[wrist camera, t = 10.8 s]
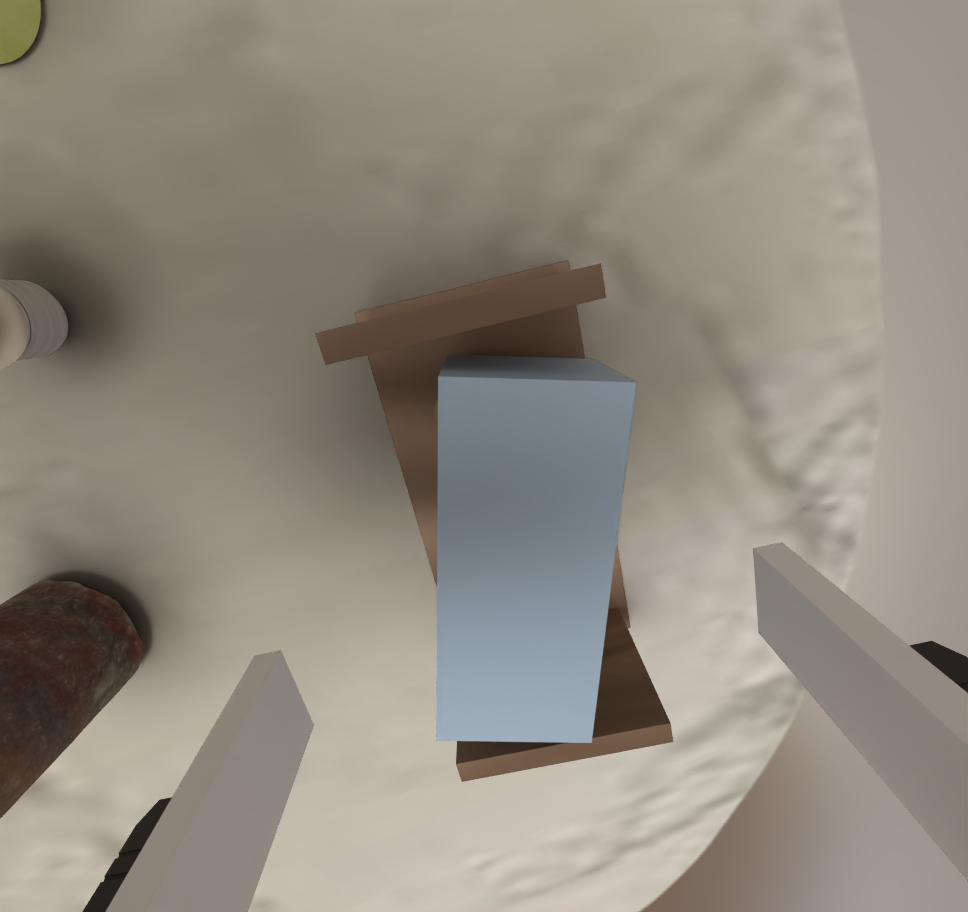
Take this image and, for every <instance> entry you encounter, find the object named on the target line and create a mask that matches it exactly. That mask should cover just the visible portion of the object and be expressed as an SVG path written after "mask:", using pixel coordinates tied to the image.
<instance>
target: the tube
mask: <svg viewBox="0 0 968 912" xmlns="http://www.w3.org/2000/svg"><path fill="white" fill-rule="evenodd" d="M40 19H41V3H40V0H0V64H4V63H9V62H12V61H14V60H16V59H17V58H19V57H21V56H22V55H23V54H24V53H25V52H26V51H27V50H28V49H29V47H30V46H31V45H32V44H33V42H34V40H35V38H36V35H37V33H38V29H39V24H40Z"/></svg>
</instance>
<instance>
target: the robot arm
mask: <svg viewBox="0 0 968 912" xmlns="http://www.w3.org/2000/svg"><path fill="white" fill-rule="evenodd" d="M753 554H754V569H755V584H756V599H757V614H758V629H759V634H760V635H761V636H762V637H763V638H764V639H765V641H766V642H767V643H768V644H769V645H770V647H771V648H772V649H773V650H774V651H775V653H776V654H777V655H778V656H779V657H780V659H781V660H782V661H783V662H784V663H785V664H786V666H787V667H788V668H789V669H790V670H791V672H792V673H793V674H794V675H795V676H796V678H797V679H798V680H799V681H800V682H801V684H802V685H803V686H804V687H805V688H806V689H807V691H808V692H809V693H810V694H811V695H812V697H813V698H814V699H815V700H816V701H817V703H818V704H819V705H820V706H821V707H822V709H823V710H824V711H825V712H826V713H827V714H828V715H829V717H830V718H831V719H832V720H833V722H834V723H835V724H836V725H837V726H838V727H839V729H840V730H841V731H842V732H843V734H844V735H845V736H846V737H847V738H848V739H849V741H850V742H851V743H852V744H853V745H854V747H855V748H856V749H857V750H858V751H859V752H860V754H861V755H862V756H863V757H864V758H865V760H866V761H867V762H868V763H869V764H870V766H871V767H872V768H873V769H874V770H875V772H876V773H877V774H878V775H879V776H880V778H881V779H882V780H883V781H884V782H885V783H886V785H887V786H888V787H889V788H890V789H891V791H892V792H893V793H894V794H895V795H896V797H897V798H898V799H899V800H900V801H901V803H902V804H903V805H904V806H905V807H906V808H907V810H908V811H909V812H910V813H911V814H912V816H913V817H914V818H915V819H916V820H917V822H918V823H919V824H920V825H921V826H922V828H923V829H924V830H925V831H926V832H927V834H928V835H929V836H930V837H931V838H932V839H933V841H934V842H935V843H936V844H937V845H938V847H939V848H940V849H941V850H942V851H943V852H944V854H945V855H946V856H947V857H948V859H949V860H950V861H951V862H952V863H953V864H954V865H955V867H956V868H957V869H958V870H959V872H960V873H961V874H962V875H963V876H964V878H965V879H966V880H967V881H968V658H967V657H966V656H964V655H962V654H959V653H957V652H955V651H953V650H951V649H948V648H946V647H944V646H942V645H940V644H937V643H935V642H933V641H929V642H924V643H920V644H914V645H908V644H907V643H905V642H904V641H903V640H902V639H900V638H899V637H898V636H897V635H895V634H894V633H893V632H891V630H889V629H888V628H887V627H886V626H884V625H883V624H882V623H881V622H880V621H878V620H877V619H876V618H875V617H873V616H872V615H871V614H869V613H868V612H867V611H866V610H865V609H863V608H862V607H861V606H860V605H859V604H857V603H856V602H855V601H854V600H853V599H851V598H850V597H849V596H848V595H846V594H845V593H844V592H843V591H841V590H840V589H839V588H838V587H837V586H835V585H834V584H833V583H832V582H830V581H829V580H828V579H827V578H825V577H824V576H823V575H822V574H821V573H819V572H818V571H817V570H816V569H814V568H813V567H812V566H811V565H809V564H808V563H807V562H806V561H805V560H803V559H802V558H801V557H800V556H798V555H797V554H796V553H795V552H793V551H792V550H791V549H790V548H789V547H787V546H786V545H785V544H784V543H782V542H781V543H776V544H771V545H767V546H762V547H757V548H753ZM313 726H314V724H313V722H312V720H311V717H310V715H309V713H308V711H307V708H306V706H305V704H304V702H303V699H302V697H301V695H300V693H299V690H298V688H297V686H296V684H295V681H294V679H293V677H292V675H291V672H290V670H289V668H288V666H287V663H286V661H285V659H284V656H283V654H282V652H281V650H280V651H275V652H271V653H266V654H261V655H257V656H254V658H253V659H252V661H251V663H250V664H249V666H248V668H247V670H246V671H245V673H244V675H243V676H242V678H241V680H240V682H239V683H238V685H237V687H236V689H235V690H234V692H233V694H232V695H231V697H230V699H229V701H228V702H227V704H226V706H225V707H224V709H223V711H222V713H221V714H220V716H219V718H218V719H217V721H216V723H215V725H214V726H213V728H212V730H211V731H210V733H209V735H208V737H207V738H206V740H205V742H204V744H203V745H202V747H201V749H200V750H199V752H198V754H197V756H196V757H195V759H194V761H193V762H192V764H191V766H190V768H189V769H188V771H187V773H186V774H185V776H184V778H183V780H182V781H181V783H180V785H179V786H178V788H177V790H176V792H175V793H174V795H173V797H171V798H166V799H161V800H159V801H158V802H157V803H156V804H155V805H154V806H153V808H152V809H151V810H150V811H149V812H148V813H147V814H146V815H145V816H144V817H143V818H142V819H141V821H140V822H139V823H138V824H137V825H136V826H135V828H134V829H133V831H132V833H131V834H130V836H129V838H128V839H127V841H126V842H125V844H124V846H123V847H122V849H121V850H120V852H119V857H118V858H117V859H115V860H114V862H113V863H112V865H111V867H110V868H109V870H108V871H107V873H106V875H105V876H104V877H105V880H104V882H101V883H100V884H99V886H98V888H97V889H96V891H95V893H94V894H93V896H92V897H91V899H90V901H89V902H88V904H87V905H86V907H85V909H84V910H83V912H248V910H249V907H250V904H251V901H252V898H253V896H254V893H255V890H256V887H257V884H258V882H259V879H260V876H261V873H262V870H263V867H264V865H265V862H266V859H267V856H268V853H269V850H270V848H271V845H272V842H273V839H274V836H275V834H276V831H277V828H278V825H279V822H280V819H281V817H282V814H283V811H284V808H285V805H286V802H287V800H288V797H289V794H290V791H291V788H292V786H293V783H294V780H295V777H296V774H297V771H298V769H299V766H300V763H301V760H302V757H303V754H304V752H305V749H306V746H307V743H308V740H309V738H310V735H311V732H312V729H313Z"/></svg>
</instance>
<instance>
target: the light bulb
mask: <svg viewBox="0 0 968 912" xmlns="http://www.w3.org/2000/svg"><path fill="white" fill-rule="evenodd" d="M67 333H68V321H67V317H66V314H65V312H64V310H63V308H62V306H61V305H60V303H59V302H58V301H57V300H56V299H55V298H54V297H53V296H52V295H51V294H50V293H49V292H48V291H47V290H45V289H44V288H43V287H41V286H39V285H37V284H35V283H33V282H29V281H25V280H9V279H2V280H0V369H3V368H5V367H7V366H9V365H10V364H12V363H14V362H15V361H18V360H22V359H32V358H40V357H45V356H48V355H50V354H52V353H54V352H55V351H56V350H57V349H58V348H59V347H60V346H61V345H62V344H63V343H64V341H65V339H66V337H67Z"/></svg>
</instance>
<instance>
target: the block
mask: <svg viewBox="0 0 968 912" xmlns="http://www.w3.org/2000/svg"><path fill="white" fill-rule="evenodd" d="M636 383H637V382H635V381H633V380H631V379H629V378H627V377H625V376H624V375H622V374H620V373H618V372H616V371H614V370H613V369H611V368H609V367H607V366H605V365H603V364H601V363H600V362H598V361H596V360H594V359H578V358H547V357H515V356H483V355H451V354H449V355H448V357H447V359H446V361H445V363H444V365H443V368H442V370H441V372H440V374H439V376H438V516H437V719H436V741H493V742H563V743H592V736H593V728H594V720H595V712H596V703H597V695H598V687H599V679H600V671H601V663H602V655H603V647H604V639H605V631H606V623H607V615H608V607H609V599H610V591H611V583H612V575H613V567H614V559H615V551H616V543H617V535H618V527H619V519H620V511H621V503H622V495H623V487H624V479H625V471H626V463H627V455H628V447H629V439H630V431H631V423H632V415H633V407H634V399H635V391H636Z"/></svg>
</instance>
